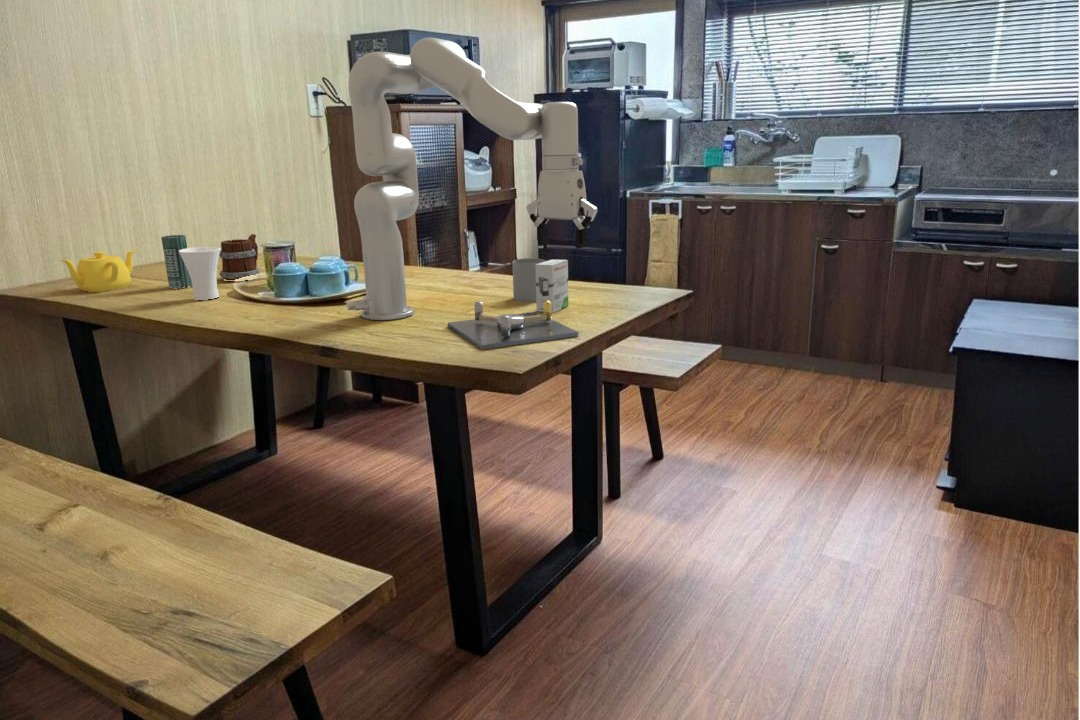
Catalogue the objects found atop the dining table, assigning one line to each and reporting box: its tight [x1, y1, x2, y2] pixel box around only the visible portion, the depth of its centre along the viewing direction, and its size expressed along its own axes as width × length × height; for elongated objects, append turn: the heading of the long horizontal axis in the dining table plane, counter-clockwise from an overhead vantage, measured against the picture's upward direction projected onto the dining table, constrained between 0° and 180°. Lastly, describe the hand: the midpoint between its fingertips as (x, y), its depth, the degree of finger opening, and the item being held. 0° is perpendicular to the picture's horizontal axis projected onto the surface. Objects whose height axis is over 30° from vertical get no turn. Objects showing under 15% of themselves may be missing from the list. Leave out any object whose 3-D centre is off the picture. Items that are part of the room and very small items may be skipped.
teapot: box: [60, 249, 137, 293], centre depth 230 cm, size 22×16×11 cm
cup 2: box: [511, 257, 546, 303], centre depth 205 cm, size 8×8×10 cm
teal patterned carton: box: [161, 234, 193, 288], centre depth 229 cm, size 6×6×15 cm
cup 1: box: [179, 246, 221, 301], centre depth 213 cm, size 10×10×14 cm
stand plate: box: [447, 311, 579, 350], centre depth 173 cm, size 22×22×1 cm
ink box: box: [535, 259, 569, 314], centre depth 192 cm, size 9×5×12 cm, turn 151°
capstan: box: [473, 301, 553, 336], centre depth 173 cm, size 15×17×5 cm
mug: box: [218, 233, 261, 280], centre depth 242 cm, size 12×14×15 cm
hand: (561, 246), depth 168 cm, fingers open, 9 cm apart
